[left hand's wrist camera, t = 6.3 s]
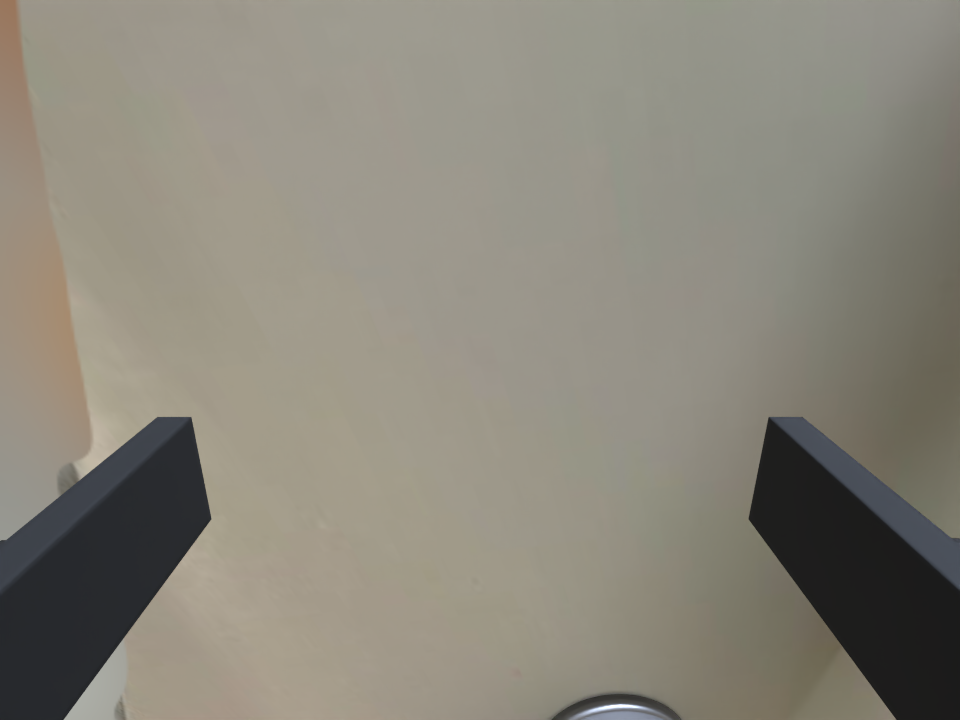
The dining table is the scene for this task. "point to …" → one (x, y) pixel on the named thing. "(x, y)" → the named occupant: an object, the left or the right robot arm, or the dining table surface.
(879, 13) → the dining table surface
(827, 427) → the dining table surface
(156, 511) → the left robot arm
